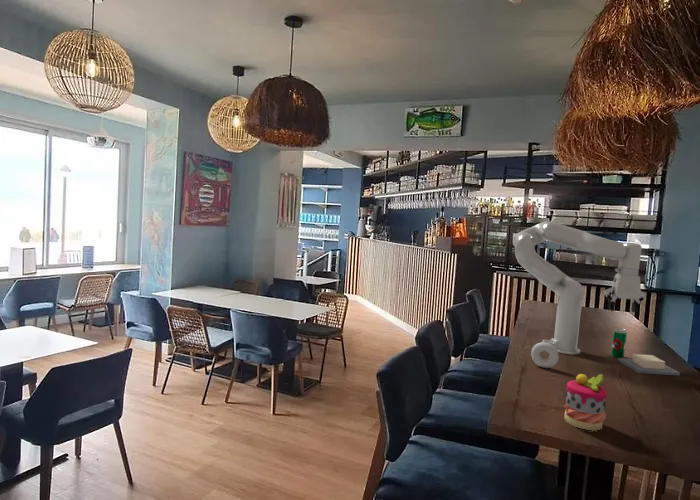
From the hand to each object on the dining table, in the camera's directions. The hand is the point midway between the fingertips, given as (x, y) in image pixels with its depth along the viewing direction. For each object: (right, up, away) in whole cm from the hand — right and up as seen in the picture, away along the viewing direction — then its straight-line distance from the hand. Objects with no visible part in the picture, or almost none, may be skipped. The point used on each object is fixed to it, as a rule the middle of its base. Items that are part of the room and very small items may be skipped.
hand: (622, 311), depth 195 cm
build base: (+3, -22, -11) cm, 25 cm away
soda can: (-1, -20, +2) cm, 20 cm away
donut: (-42, -20, -18) cm, 50 cm away
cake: (-50, -24, -64) cm, 85 cm away
